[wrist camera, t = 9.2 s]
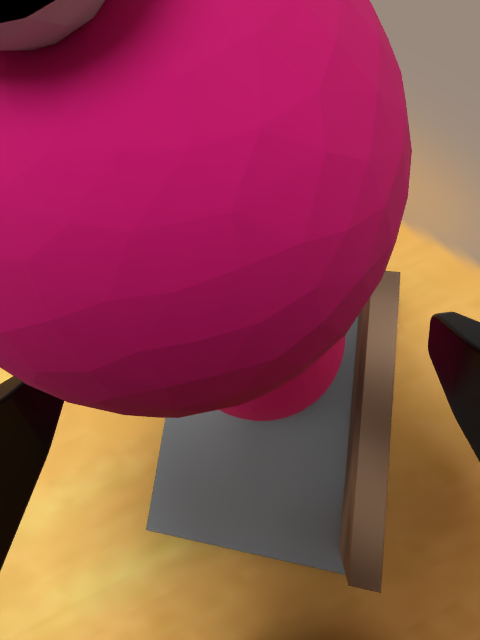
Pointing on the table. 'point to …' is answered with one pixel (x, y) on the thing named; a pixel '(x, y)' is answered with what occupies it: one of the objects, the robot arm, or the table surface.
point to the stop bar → (370, 437)
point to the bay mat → (260, 478)
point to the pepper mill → (194, 198)
